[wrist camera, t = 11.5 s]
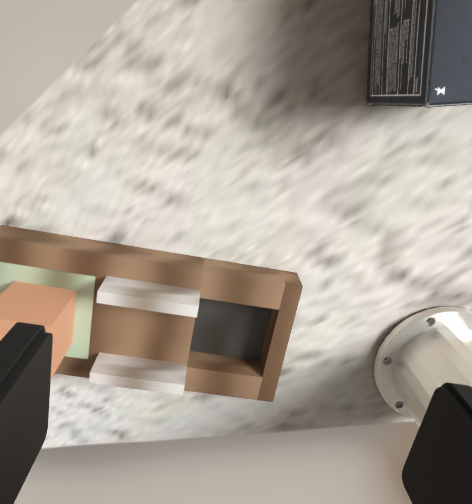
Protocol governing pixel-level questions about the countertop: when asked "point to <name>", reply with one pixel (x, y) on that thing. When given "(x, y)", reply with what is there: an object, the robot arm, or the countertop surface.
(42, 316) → the block
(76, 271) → the track
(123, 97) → the countertop surface
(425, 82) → the small box
